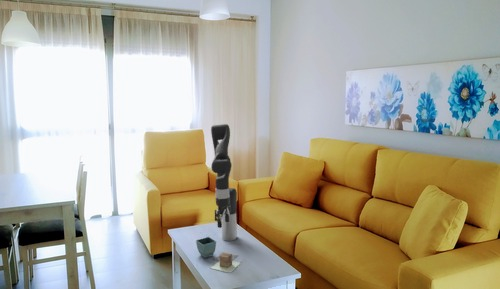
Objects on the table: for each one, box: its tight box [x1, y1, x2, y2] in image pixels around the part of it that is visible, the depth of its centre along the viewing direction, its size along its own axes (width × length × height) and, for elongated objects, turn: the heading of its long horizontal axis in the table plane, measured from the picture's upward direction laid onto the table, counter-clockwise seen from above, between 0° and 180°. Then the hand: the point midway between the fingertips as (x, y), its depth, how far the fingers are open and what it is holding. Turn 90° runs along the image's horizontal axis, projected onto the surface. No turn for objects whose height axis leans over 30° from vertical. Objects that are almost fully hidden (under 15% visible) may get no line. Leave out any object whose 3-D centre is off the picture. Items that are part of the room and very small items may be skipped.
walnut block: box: [218, 252, 233, 268], centre depth 205 cm, size 5×5×6 cm
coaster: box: [210, 260, 242, 274], centre depth 205 cm, size 12×12×1 cm
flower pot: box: [195, 236, 217, 259], centre depth 218 cm, size 9×9×9 cm
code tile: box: [213, 252, 238, 262], centre depth 216 cm, size 10×10×1 cm
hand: (223, 224), depth 207 cm, fingers open, 8 cm apart
